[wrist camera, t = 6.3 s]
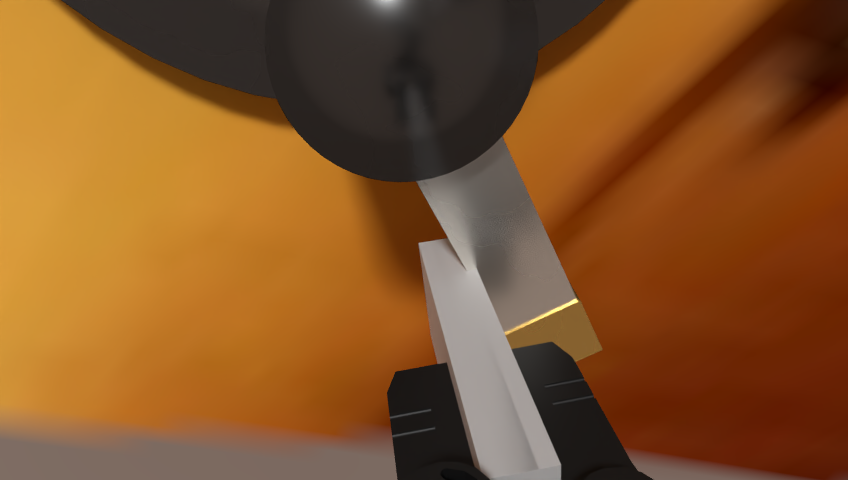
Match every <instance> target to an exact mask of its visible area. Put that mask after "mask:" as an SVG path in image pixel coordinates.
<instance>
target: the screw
mask: <svg viewBox="0 0 848 480" xmlns="http://www.w3.org/2000/svg"><path fill="white" fill-rule="evenodd" d="M538 46H539V35H538V21H537V15H536V9H535V4H534V1H533V0H270V3H269V7H268V11H267V17H266V25H265V56H266V63H267V70H268V74H269V77H270V81H271V85H272V88H273V91H274V93H275V95H276V98H277V100H278V103H279V105H280V107H281V108H282V110H283V112H284V114H285V115H286V117H287V119H288V121H289V122H290V123H291V125H292V126H293V127H294V129H295V130H296V131H297V133H298V134H299V135H300V136H301V137H302V138H303V139H304V140H305V141H306V142H307V143H308V144H309V145H310V146H311V147H312V148H313V149H314V150H316V151H317V152H318V153H319V154H320V155H322V156H323V157H324V158H326V159H327V160H329V161H331V162H332V163H334V164H335V165H337V166H339V167H341V168H343V169H345V170H348V171H350V172H352V173H355V174H358V175H361V176H364V177H367V178H371V179H376V180H382V181H391V182H412V181H416V182H417V184H418V186H419V187H420V189H421V191H422V193H423V194H424V196H425V198H426V200H427V201H428V203H429V205H430V207H431V209H432V210H433V212H434V214H435V216H436V217H437V219H438V221H439V223H440V224H441V226H442V228H443V230H444V231H445V233H446V235H447V237H448V239H449V240H450V242H451V244H452V246H453V247H454V249H455V251H456V253H457V254H458V256H459V258H460V260H461V261H462V263H463V265H464V267H465V269H466V270H467V271H468V270H475V269H477V271H478V273H479V275H480V278H481V280H482V282H483V285H484V287H485V289H486V292H487V294H488V296H489V299H490V301H491V303H492V306H493V308H494V310H495V313H496V315H497V317H498V319H499V322H500V324H501V326H502V329H503V331H504V333H505V336H506V338H507V340H508V343H509V345H510V347H511V349H515V348H520V347H525V346H531V345H536V344H541V343H547V342H553V343H555V344H556V345H557V346H559V347H560V348H561V349H563V350H564V351H565V352H566V353H568V354H569V355H570V356H572V357H573V359H574V361H575V362H576V361H578V360H581V359H583V358H585V357H587V356H589V355H592V354H594V353H596V352H598V351H601V350H602V347H601V345H600V343H599V341H598V339H597V336H596V334H595V332H594V330H593V328H592V325H591V323H590V321H589V319H588V317H587V314H586V312H585V310H584V308H583V306H582V303H581V301H580V299H579V298H578V296H577V294H576V293H575V291H574V289H573V288H572V286H571V284H570V283H569V281H568V279H567V277H566V275H565V272H564V270H563V268H562V266H561V264H560V261H559V259H558V257H557V255H556V253H555V251H554V248H553V246H552V244H551V242H550V240H549V238H548V235H547V233H546V231H545V229H544V227H543V224H542V222H541V220H540V218H539V216H538V214H537V211H536V209H535V207H534V205H533V203H532V200H531V198H530V196H529V194H528V192H527V190H526V187H525V185H524V183H523V181H522V179H521V177H520V174H519V172H518V170H517V168H516V166H515V163H514V161H513V159H512V157H511V155H510V153H509V150H508V148H507V146H506V144H505V142H504V139H503V137H502V136H503V135H504V133H505V132H506V131H507V130H508V128H509V127H510V126H511V125H512V123H513V122H514V120H515V118H516V117H517V115H518V114H519V112H520V111H521V109H522V106H523V104H524V102H525V100H526V98H527V96H528V93H529V90H530V88H531V85H532V82H533V79H534V74H535V69H536V64H537V58H538Z"/></svg>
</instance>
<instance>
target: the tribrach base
mask: <svg viewBox="0 0 848 480" xmlns="http://www.w3.org/2000/svg"><path fill="white" fill-rule="evenodd" d="M62 1H63V2H65V3H66V4H68V5H69V6H70V7H72V8H73V9H75V10H76V11H77V12H79V13H80V14H82V15H83V16H84V17H86V18H87V19H89V20H90V21H91V22H93V23H94V24H96V25H97V26H98V27H100V28H101V29H103V30H105V31H106V32H108V33H110V34H112V35H113V36H115V37H117V38H119V39H121V40H122V41H124V42H126V43H128V44H129V45H131V46H133V47H135V48H136V49H138V50H140V51H142V52H143V53H145V54H147V55H149V56H151V57H152V58H154V59H157V60H159V61H161V62H164V63H166V64H168V65H171V66H173V67H175V68H178V69H180V70H182V71H185V72H187V73H189V74H192V75H194V76H196V77H199V78H201V79H203V80H206V81H209V82H213V83H216V84H220V85H223V86H226V87H230V88H233V89H236V90H240V91H243V92H247V93H250V94H253V95H258V96H264V97H270V98H276V95H275V93H274V91H273V88H272V85H271V81H270V77H269V74H268V70H267V63H266V56H265V25H266V17H267V11H268V7H269V3H270V0H62ZM533 1H534V4H535V9H536V15H537V21H538V35H539V46H538V50H540V49H541V48H542V47H544V46H545V45H547V44H548V43H550V42H551V41H553V40H554V39H556V38H557V37H559V36H560V35H562V34H563V33H565V32H566V31H568V30H569V29H571V28H572V27H574V26H575V25H577V24H578V23H579V22H580V21H581V20H583V19H584V18H585V17H586V16H587V15H588V14H590V13H591V12H592V11H593V10H594V9H595V8H596V7H598V6H599V5H600V4H601V3H602V2H603V1H605V0H533ZM276 99H277V98H276Z"/></svg>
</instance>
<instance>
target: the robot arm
mask: <svg viewBox="0 0 848 480" xmlns="http://www.w3.org/2000/svg"><path fill="white" fill-rule="evenodd" d="M418 244H419V251H420V259H421V266H422V274H423V281H424V288H425V296H426V303H427V310H428V318H429V325H430V332H431V338H432V342H433V346H434V350H435V354H436V358H437V362H438V364H435V365H430V366H424V367H419V368H414V369H408V370H403V371H397V372H395V374H394V377H393V379H392V382H391V384H390V387H389V389H388V392H387V397H388V405H389V413H390V421H391V430H392V437H393V446H394V454H395V462H396V471H397V479H398V480H653V479H652V478H650V477H648V476H647V475H645V474H643V473H642V472H639V471H638V470H637V469H636V468H635V466H634V465H633V463H632V462H631V460H630V459H629V457H628V455H627V453H626V452H625V450H624V448H623V446H622V444H621V443H620V441H619V439H618V437H617V436H616V434H615V432H614V430H613V428H612V427H611V425H610V423H609V421H608V420H607V418H606V416H605V414H604V412H603V411H602V409H601V407H600V405H599V404H598V402H597V400H596V398H594V397H593V393H592V391H591V389H590V388H589V386H588V384H587V382H586V381H584V377H583V375H582V373H581V372H580V370H579V368H578V366H577V365H576V363H575V361H574V359H573V357H572V356H570V355H569V354H568V353H566V352H565V351H564V350H563V349H561V348H560V347H559V346H557V345H556V344H555V343H553V342H547V343H541V344H536V345H531V346H525V347H520V348H515V349H511V347H510V345H509V343H508V340H507V338H506V336H505V333H504V331H503V329H502V326H501V324H500V322H499V319H498V317H497V315H496V313H495V310H494V308H493V306H492V303H491V301H490V299H489V296H488V294H487V292H486V289H485V287H484V285H483V282H482V280H481V278H480V275H479V273H478V271H477V269H475V270H468V271H467V270H466V269H465V267H464V265H463V263H462V261H461V260H460V258H459V256H458V254H457V253H456V251H455V249H454V247H453V246H452V244H451V242H450V240H449V239H448V238H445V239H439V240H434V241H428V242H422V243H418Z"/></svg>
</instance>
